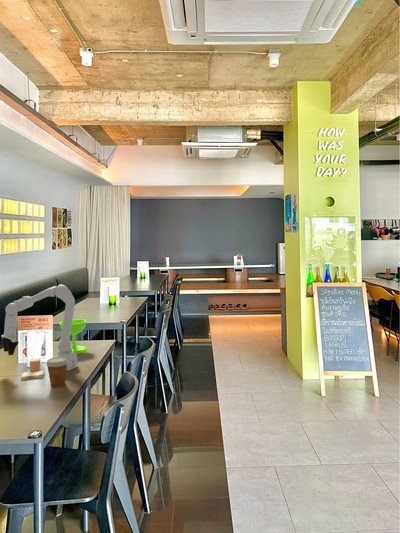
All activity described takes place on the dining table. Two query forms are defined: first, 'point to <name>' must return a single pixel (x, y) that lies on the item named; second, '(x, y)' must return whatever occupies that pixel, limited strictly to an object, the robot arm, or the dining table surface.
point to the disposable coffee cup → (57, 371)
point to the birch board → (32, 375)
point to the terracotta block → (35, 365)
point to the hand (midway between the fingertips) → (8, 353)
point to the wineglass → (75, 329)
